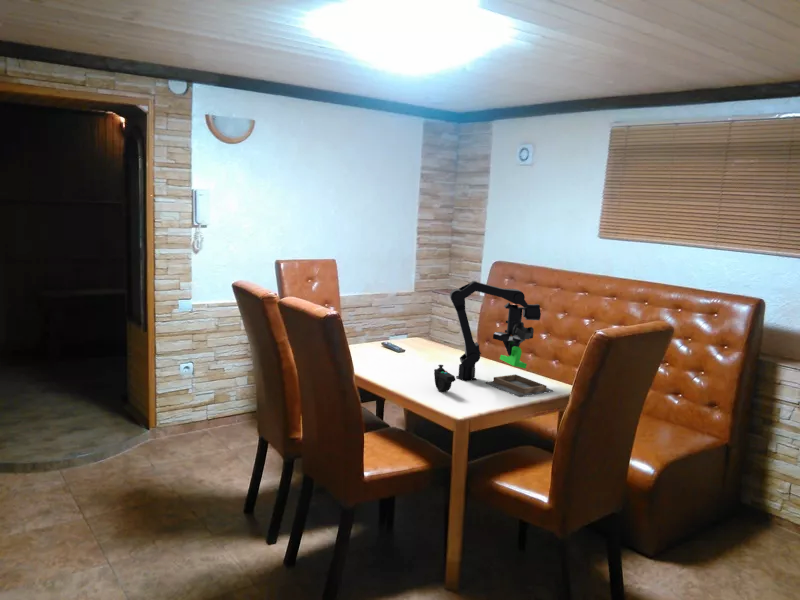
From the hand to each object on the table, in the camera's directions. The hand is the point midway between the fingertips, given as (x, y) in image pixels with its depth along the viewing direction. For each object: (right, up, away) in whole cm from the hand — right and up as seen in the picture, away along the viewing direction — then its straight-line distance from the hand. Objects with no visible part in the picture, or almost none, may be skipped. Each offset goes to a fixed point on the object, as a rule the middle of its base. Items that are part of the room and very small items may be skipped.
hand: (511, 355), depth 265 cm
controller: (-31, -13, -20) cm, 39 cm away
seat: (+2, -13, -8) cm, 15 cm away
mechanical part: (+1, -4, +1) cm, 4 cm away
